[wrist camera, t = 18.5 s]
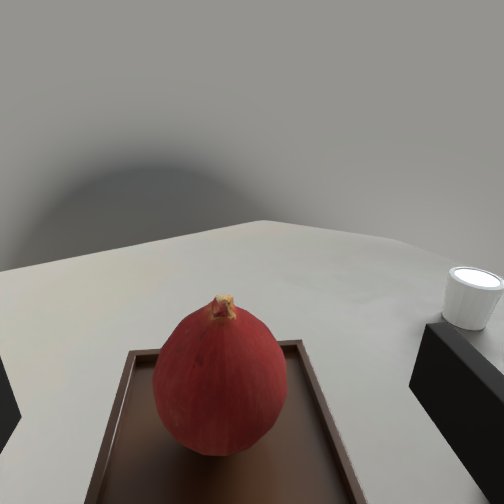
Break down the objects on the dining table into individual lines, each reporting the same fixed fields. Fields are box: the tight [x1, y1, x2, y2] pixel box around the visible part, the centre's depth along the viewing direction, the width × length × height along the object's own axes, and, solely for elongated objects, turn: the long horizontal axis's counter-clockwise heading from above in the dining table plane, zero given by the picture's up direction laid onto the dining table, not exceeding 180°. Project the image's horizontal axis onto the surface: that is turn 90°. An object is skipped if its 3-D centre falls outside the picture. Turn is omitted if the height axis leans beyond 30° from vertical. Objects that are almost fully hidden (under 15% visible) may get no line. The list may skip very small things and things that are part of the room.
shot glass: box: [442, 267, 504, 330], centre depth 49 cm, size 7×7×7 cm
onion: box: [152, 295, 287, 456], centre depth 15 cm, size 6×6×8 cm
